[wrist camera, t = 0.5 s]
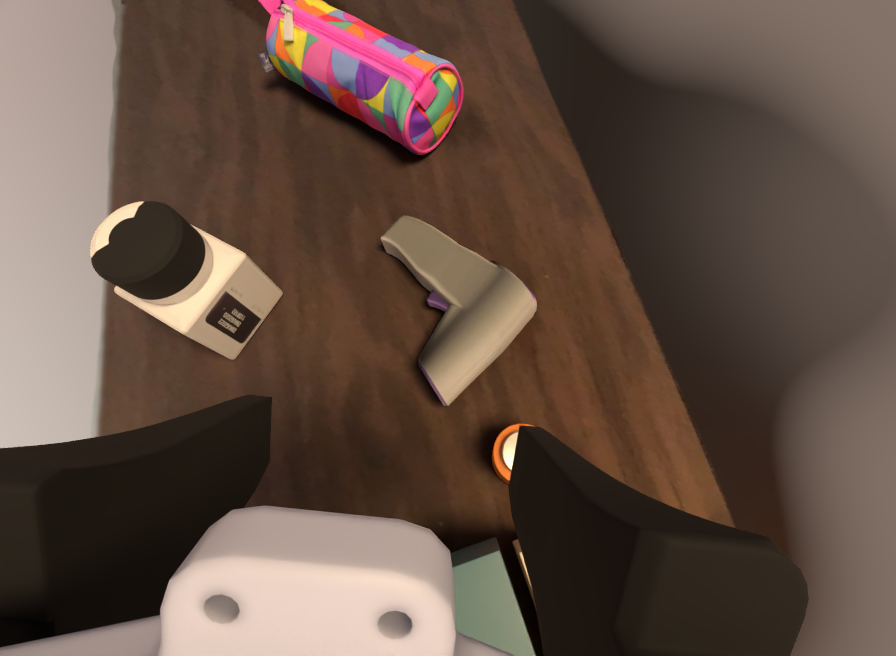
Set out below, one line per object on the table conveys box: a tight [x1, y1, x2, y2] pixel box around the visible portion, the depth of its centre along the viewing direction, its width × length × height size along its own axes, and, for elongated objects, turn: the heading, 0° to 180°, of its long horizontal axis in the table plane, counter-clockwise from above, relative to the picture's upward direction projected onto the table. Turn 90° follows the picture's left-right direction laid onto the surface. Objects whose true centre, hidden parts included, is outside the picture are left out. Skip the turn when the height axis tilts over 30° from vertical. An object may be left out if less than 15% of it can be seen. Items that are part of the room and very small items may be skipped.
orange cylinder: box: [492, 424, 535, 484], centre depth 33 cm, size 4×4×6 cm
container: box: [90, 201, 283, 360], centre depth 36 cm, size 8×8×13 cm
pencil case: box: [258, 0, 463, 155], centre depth 46 cm, size 22×9×9 cm, turn 53°
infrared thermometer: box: [381, 215, 537, 406], centre depth 39 cm, size 5×12×15 cm
